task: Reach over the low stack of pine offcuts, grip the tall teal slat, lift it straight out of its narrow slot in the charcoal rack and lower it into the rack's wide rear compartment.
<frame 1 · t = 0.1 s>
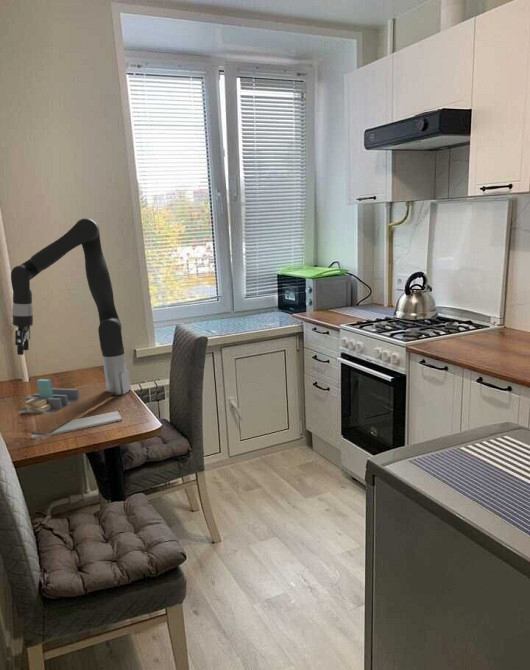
hand: (23, 352, 211), 22 cm above the table, tool pointing down, fingers open, 8 cm apart
baseboard molding: (77, 426, 189), on the table
offcut top: (36, 405, 202), point 3 cm above the table, touching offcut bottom
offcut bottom: (39, 410, 202), point 1 cm above the table, touching offcut top, rack
teal slat: (47, 405, 206), point 1 cm above the table, touching rack
rack: (47, 409, 206), on the table
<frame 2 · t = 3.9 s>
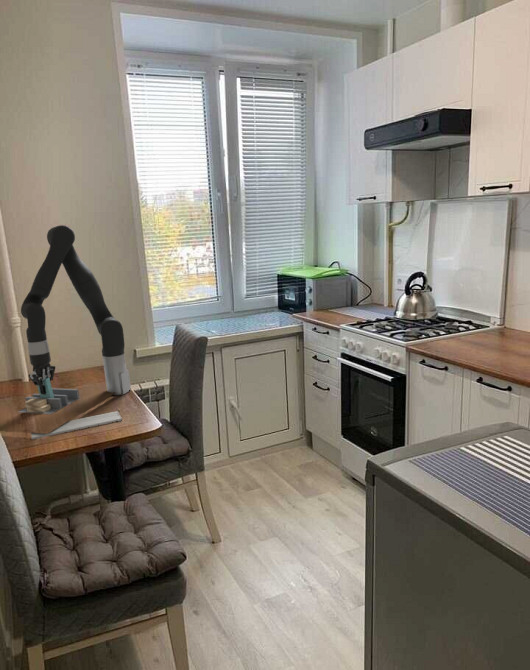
hand: (45, 392, 205), 7 cm above the table, tool pointing down, fingers closed on teal slat, 1 cm apart
teal slat: (49, 404, 206), point 2 cm above the table, tilted 6°, touching gripper
everything else where it was.
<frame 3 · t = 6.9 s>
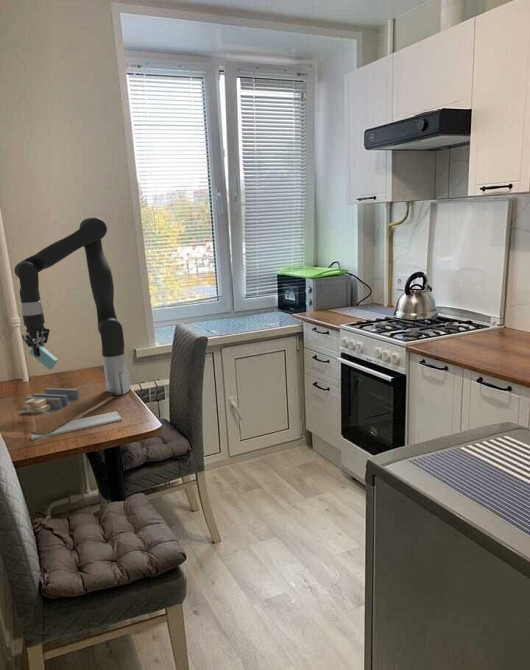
hand: (39, 355, 202), 23 cm above the table, tool pointing down, fingers closed on teal slat
teal slat: (53, 364, 201), point 19 cm above the table, tilted 51°, touching gripper
everything else where it was.
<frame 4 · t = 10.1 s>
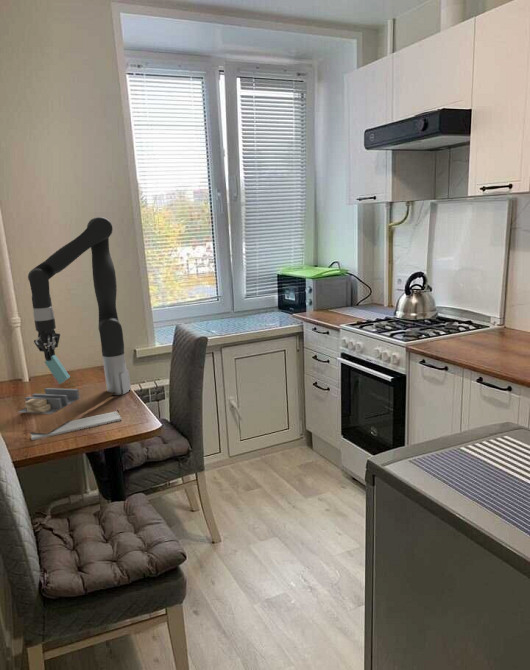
hand: (50, 359, 208), 19 cm above the table, tool pointing down, fingers closed on teal slat
teal slat: (64, 380, 208), point 11 cm above the table, tilted 31°, touching gripper
everything else where it was.
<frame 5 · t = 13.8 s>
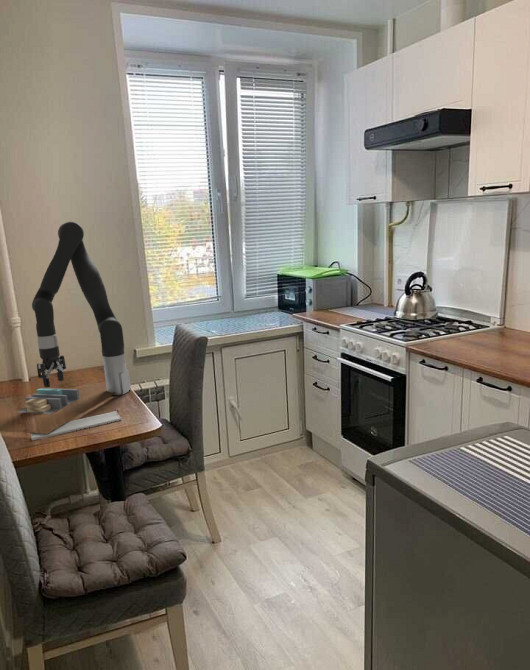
hand: (54, 383, 210), 9 cm above the table, tool pointing down, fingers open, 8 cm apart
teal slat: (61, 395, 210), point 4 cm above the table, tilted 90°, touching rack
everything else where it was.
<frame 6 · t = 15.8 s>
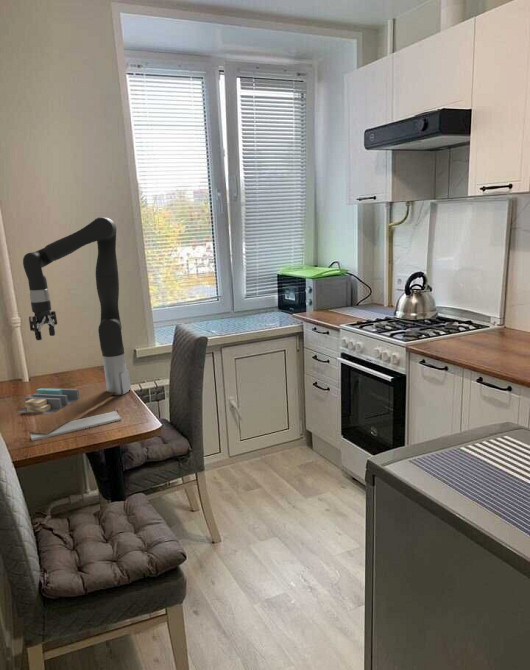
hand: (45, 337, 216), 27 cm above the table, tool pointing down, fingers open, 8 cm apart
nothing on the table moved.
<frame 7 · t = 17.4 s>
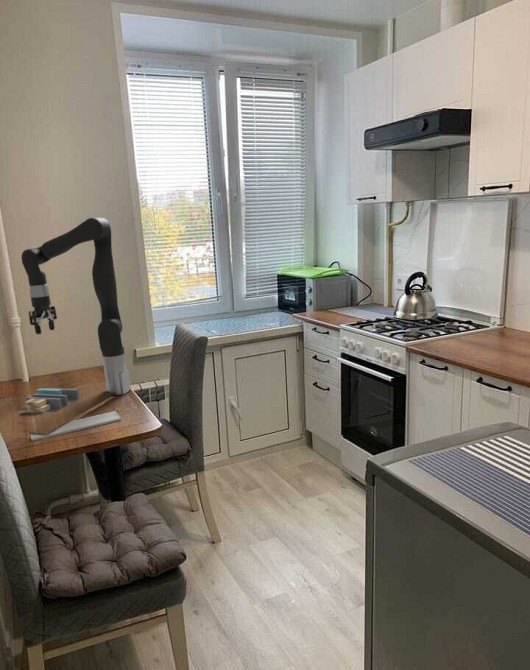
hand: (45, 331, 222), 28 cm above the table, tool pointing down, fingers open, 8 cm apart
nothing on the table moved.
at the end: teal slat inside the target area (2.5 cm from its centre), point 4.0 cm above the table; the gripper is holding nothing; teal slat touching rack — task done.
